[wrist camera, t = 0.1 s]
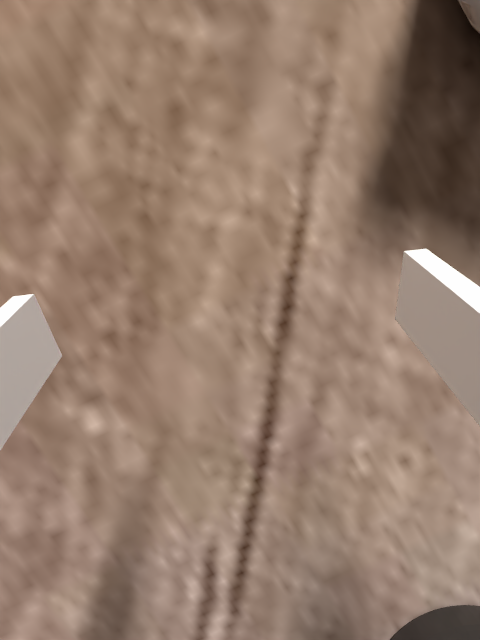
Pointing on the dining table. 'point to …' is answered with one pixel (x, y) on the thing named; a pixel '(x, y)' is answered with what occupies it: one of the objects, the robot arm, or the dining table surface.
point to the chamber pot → (472, 12)
